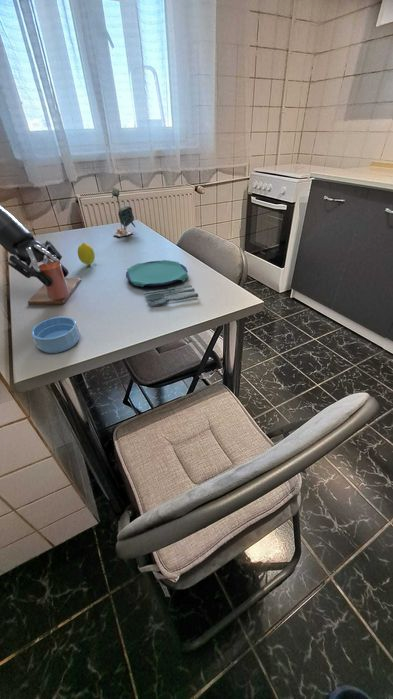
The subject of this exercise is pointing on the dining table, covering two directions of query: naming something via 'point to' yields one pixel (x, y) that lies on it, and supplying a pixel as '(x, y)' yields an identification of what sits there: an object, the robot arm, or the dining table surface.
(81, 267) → the dining table surface
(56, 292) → the terracotta cylindrical canister
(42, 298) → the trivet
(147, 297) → the cutlery set
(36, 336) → the bowl
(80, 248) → the lemon
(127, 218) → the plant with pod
